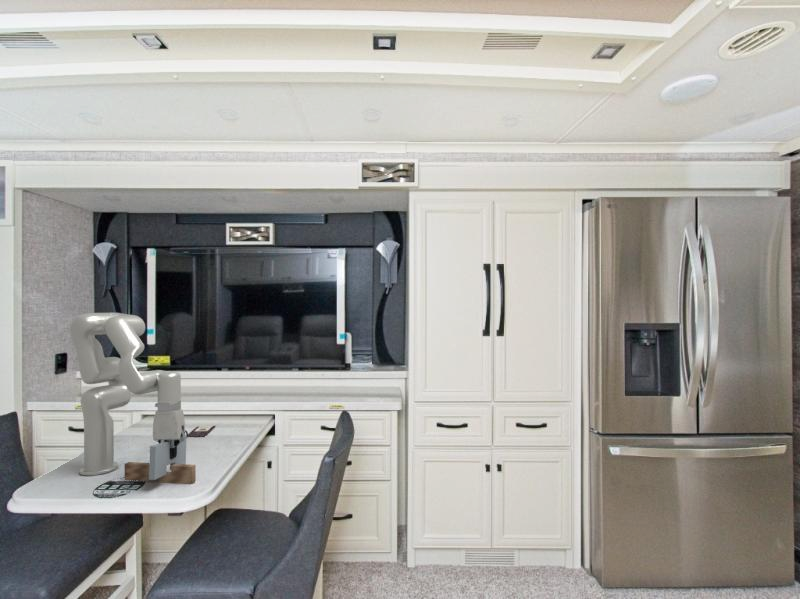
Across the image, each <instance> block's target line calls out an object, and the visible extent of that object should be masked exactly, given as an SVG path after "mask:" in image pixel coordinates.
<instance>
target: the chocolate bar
mask: <svg viewBox="0 0 800 599" xmlns="http://www.w3.org/2000/svg"><path fill="white" fill-rule="evenodd" d="M215 428H216V425H205V426H202V425H201V426H200V425H199V426H196V427H194V429H193V430H191V431H190V432H189V433H188V436H187V437H194V438H205V436H208V435H209V434H210V433H211V432H212V431H213V430H214V429H215ZM187 437H186V439H188V438H187Z"/></svg>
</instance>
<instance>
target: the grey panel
mask: <svg viewBox="0 0 800 599" xmlns="http://www.w3.org/2000/svg"><path fill="white" fill-rule="evenodd" d="M185 437H186V435H185ZM179 439H180V438H179ZM170 448H171V440H167V441H164V442H162V443H156V444H154V445H151V446H150V447H149V463H150V464H149V480H155V479H158V478H160V477H162V476H164V475H166V472H168V471H167V467H168V466H169V471H171V466H172V465H174V464H186V462H187V461H186V460H187V439H186V440H185V441H183V442H180V443H179V445H178V446H177V456H176V457H175V458H173V459H170Z"/></svg>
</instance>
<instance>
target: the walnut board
mask: <svg viewBox="0 0 800 599" xmlns="http://www.w3.org/2000/svg"><path fill="white" fill-rule="evenodd" d="M149 464H150V462H139V461H138V462H135V461H128V462H126V463H124V481H125V480H131V481H130V482H141V481H148V482H147V483H164V484H165V483H166V484H185V485H188V484H189V485H193V484H195V483H196V482H195V481H196V480H197V479H196V478H197V476H196V464H174V465H172V466H171V470H170V471H167V472H166V475H164V476H162V477H160V478H158V479H155V480H149ZM132 480H133V481H132ZM134 480H135V481H134ZM136 480H138V481H136Z"/></svg>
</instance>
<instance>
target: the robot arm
mask: <svg viewBox="0 0 800 599" xmlns="http://www.w3.org/2000/svg"><path fill="white" fill-rule="evenodd" d="M145 331H146V323H145V322H144V320H143V319H142V317H140V316H138V315H135V314H127V313H121V312H88V313H87V312H86V313H82V314H79V315H77V316H75V317H74V318H73V319H72V321H71V322H70V326H69V336H70V340H71V342H72V344H73V346H74V349H75V352H76V353H75V354H76V358H77V364H78V368H79V375H80V377H81V381H82V382H83V383H84V384H87V385H96V384H102V383H108V385H102V386H101V385H100V386H96V387H92V388H89V389H87V390H85V392H83V394H82V395H81V397H80V407H81V411H82V416H83V447H84V448H83V461H84V462H83V465H84V466H82V467H81V468H79V470H78V474H79V475H82V476H98V475H103V474H106V473H110V472H113V471H114V470H117V469H118V468H119V463H118V462H117V461H115V459H114V453H115V452H114V451H115V450H114V447H115V446H114V443H115V442H114V440H115V439H114V438H115V437H114V432H115V430H114V428H115V427H114V424H115V423H114V419H113V417H112V416H111V414H110V413H109V411H111V410H115V409H118V408H119V409H120V408H123V407H125V406H127V405H128V404H129V403H130V401H131V399H132V394H133V395H140V396H141V395H145V394H149V393H153V392H154V393H155V392H157V402H156V403H155V404H154V407H155V408H157V410H155V412H154V416H153V424H152V438H153V439H152V440H153V441H154V442H157V444H159V443H162V442H164V441H167V440H171V448H170V459H173V458H175V457H176V456H177V446H178V445H179V443H180V442H183V441H185V440H186V441H187V438H186V437H185V436H186V432H185V430H186V420H185V414H184V411H183V409H182V392H181V391H182V385H181V384H182V383H181V382H182V380H181V379H182V376H181V373H180V372H178V371H166V370H162V369H157V370H156V369H155V370H150V371H144V372H139V371H138V370H137V367H136V366H135V364H134V359H135V358H137V357H139V355H141V354H142V353H143V351H144V350H145V343H143V341H142V340H141V338H140V337H141V336H142V335H143V334H144V333H145ZM98 335H99V336H100V335H101V336H102V335H106V336H107V338H108V340H110V342H111V343H112V346H113V347H114V348H115V350H116V351H117V353H118V354H119V356H120V357H118V356H117V357H116V356H108V357H105V354H104V348H103V346H102V344H101V343H100V342H99V340H98V339H97V338H95V337H94V336H98ZM179 438H180V439H179Z"/></svg>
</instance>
